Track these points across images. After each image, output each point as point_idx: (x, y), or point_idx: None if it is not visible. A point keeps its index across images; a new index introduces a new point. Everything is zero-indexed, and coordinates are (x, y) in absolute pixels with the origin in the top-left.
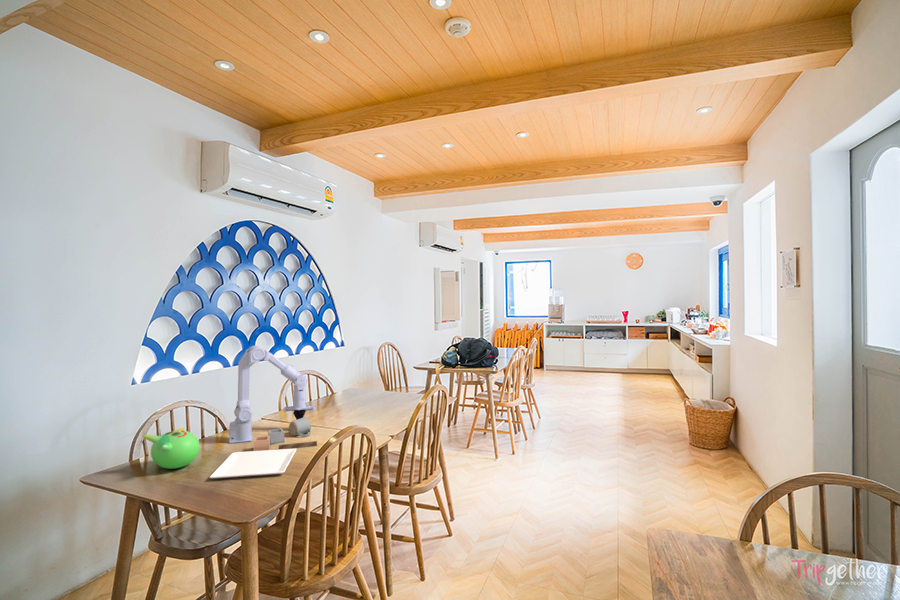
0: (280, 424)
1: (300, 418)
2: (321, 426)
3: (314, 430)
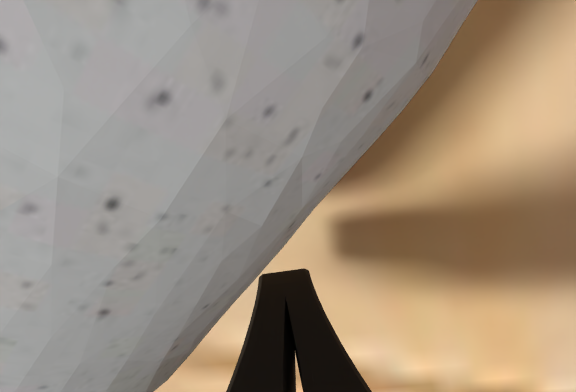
0: (543, 354)
1: (33, 337)
2: None
3: None
